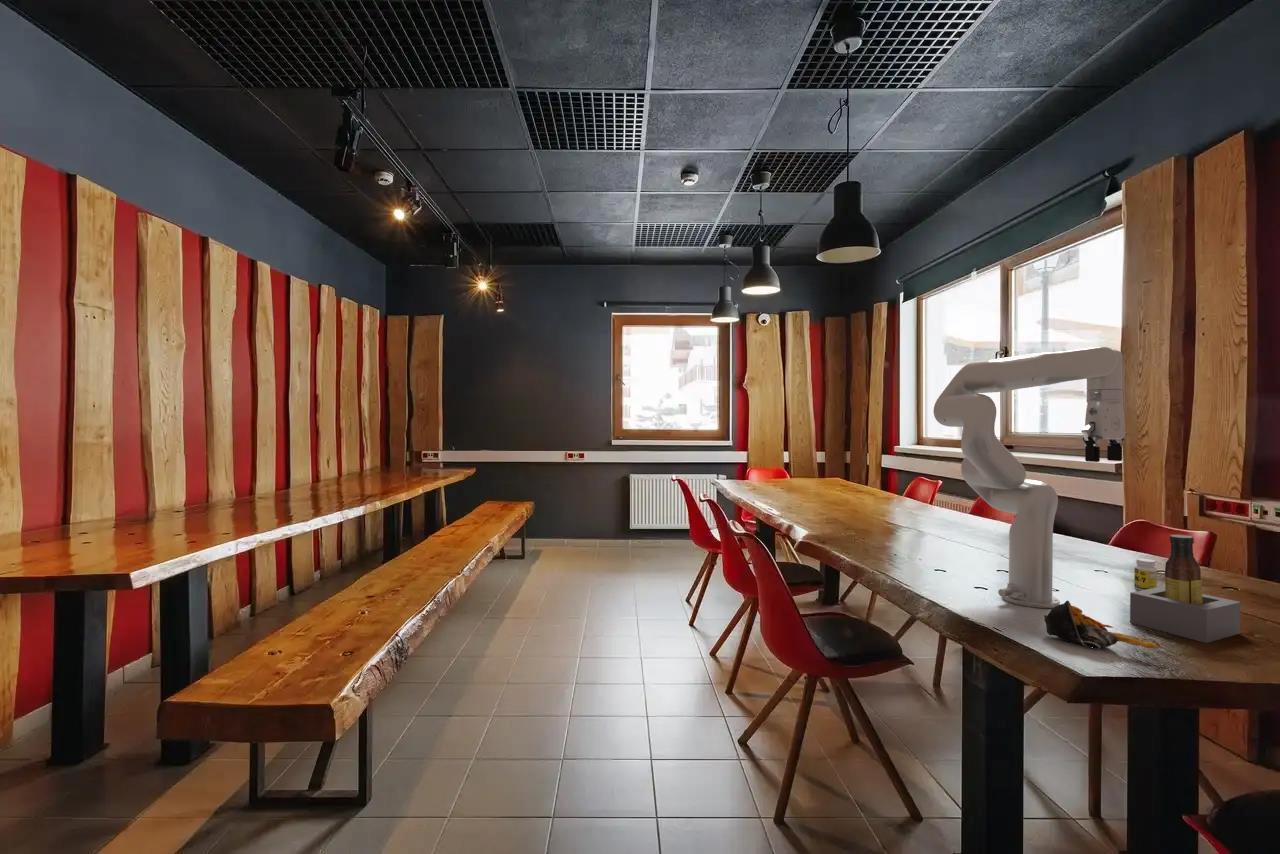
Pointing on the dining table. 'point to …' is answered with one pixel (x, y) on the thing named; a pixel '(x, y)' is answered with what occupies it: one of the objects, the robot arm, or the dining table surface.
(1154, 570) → the supplement bottle
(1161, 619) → the box
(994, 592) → the dining table surface
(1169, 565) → the sauce bottle
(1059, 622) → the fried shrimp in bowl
